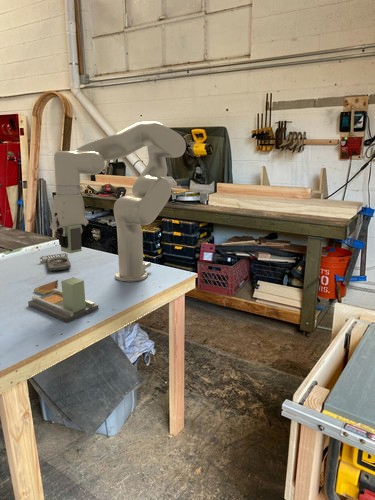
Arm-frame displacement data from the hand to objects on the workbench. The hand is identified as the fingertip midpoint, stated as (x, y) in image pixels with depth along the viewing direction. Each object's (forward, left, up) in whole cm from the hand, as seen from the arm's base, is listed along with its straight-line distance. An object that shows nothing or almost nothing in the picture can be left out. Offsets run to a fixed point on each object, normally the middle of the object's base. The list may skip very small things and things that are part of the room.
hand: (71, 245), depth 125 cm
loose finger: (0, 0, -2) cm, 2 cm away
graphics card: (-15, -32, -19) cm, 40 cm away
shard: (+3, -13, -19) cm, 23 cm away
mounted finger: (+9, +11, -16) cm, 21 cm away
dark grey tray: (+9, +5, -18) cm, 21 cm away
